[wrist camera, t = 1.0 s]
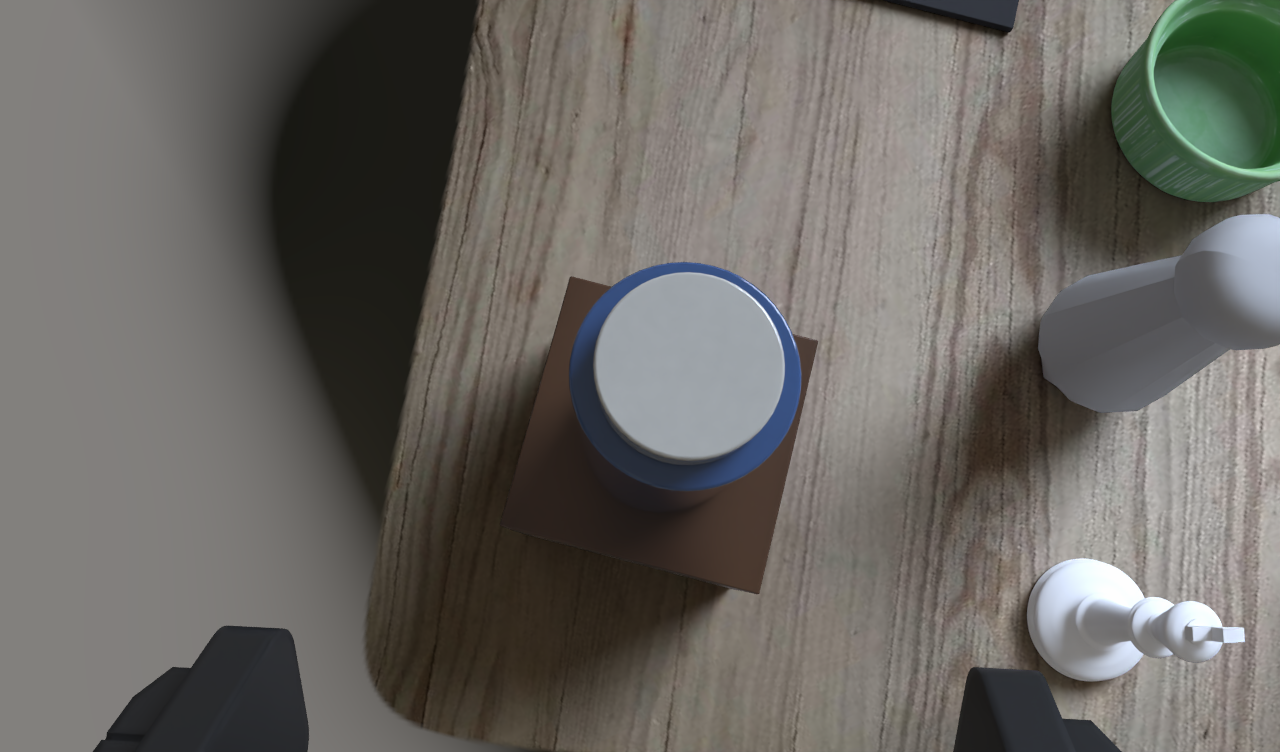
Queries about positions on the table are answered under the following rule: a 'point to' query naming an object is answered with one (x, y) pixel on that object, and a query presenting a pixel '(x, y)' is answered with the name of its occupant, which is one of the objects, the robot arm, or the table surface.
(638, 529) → the cube
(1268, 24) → the ramekin
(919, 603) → the table surface
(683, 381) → the blue cylinder
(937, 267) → the table surface
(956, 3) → the coaster
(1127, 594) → the chess piece
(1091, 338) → the salt shaker
